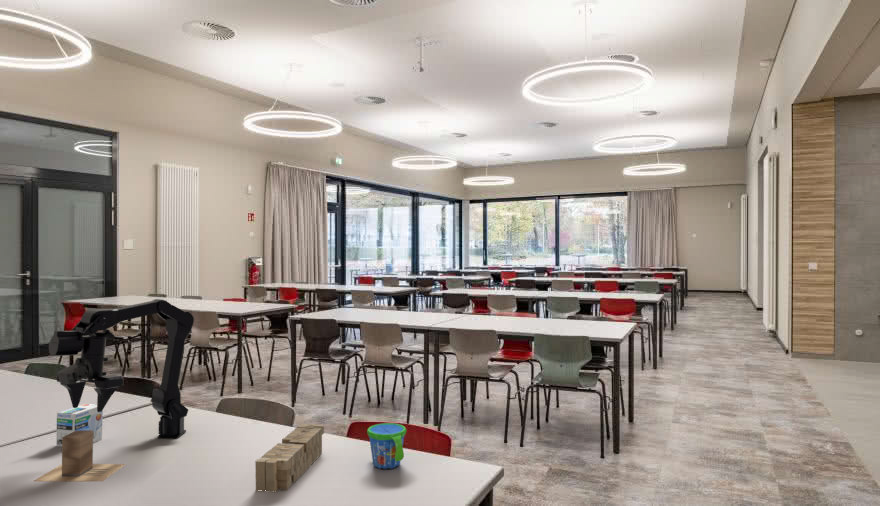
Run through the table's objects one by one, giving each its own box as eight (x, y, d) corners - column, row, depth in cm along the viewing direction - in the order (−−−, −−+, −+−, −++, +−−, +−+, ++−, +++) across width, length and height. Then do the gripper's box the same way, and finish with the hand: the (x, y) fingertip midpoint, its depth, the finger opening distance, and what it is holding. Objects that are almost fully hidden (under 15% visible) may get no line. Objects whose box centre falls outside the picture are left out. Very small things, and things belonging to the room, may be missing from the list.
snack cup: (359, 458, 158) (360, 422, 158) (394, 452, 162) (394, 418, 162) (377, 478, 144) (378, 439, 144) (414, 472, 148) (415, 434, 148)
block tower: (284, 497, 134) (325, 451, 163) (284, 463, 134) (325, 423, 163) (254, 495, 135) (299, 449, 164) (254, 461, 135) (299, 421, 164)
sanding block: (92, 468, 146) (93, 430, 146) (79, 476, 140) (80, 437, 141) (75, 468, 146) (75, 430, 146) (61, 476, 140) (62, 437, 140)
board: (125, 467, 149) (125, 463, 149) (102, 484, 138) (102, 480, 138) (61, 467, 148) (61, 464, 148) (33, 484, 137) (33, 480, 137)
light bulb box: (74, 450, 161) (74, 414, 161) (54, 449, 162) (55, 412, 162) (103, 439, 171) (103, 404, 171) (85, 437, 173) (85, 403, 173)
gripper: (41, 353, 151) (34, 411, 150) (91, 359, 145) (85, 419, 144) (78, 350, 162) (73, 404, 161) (127, 356, 156) (121, 411, 155)
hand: (87, 409), depth 155 cm, fingers open, 9 cm apart
